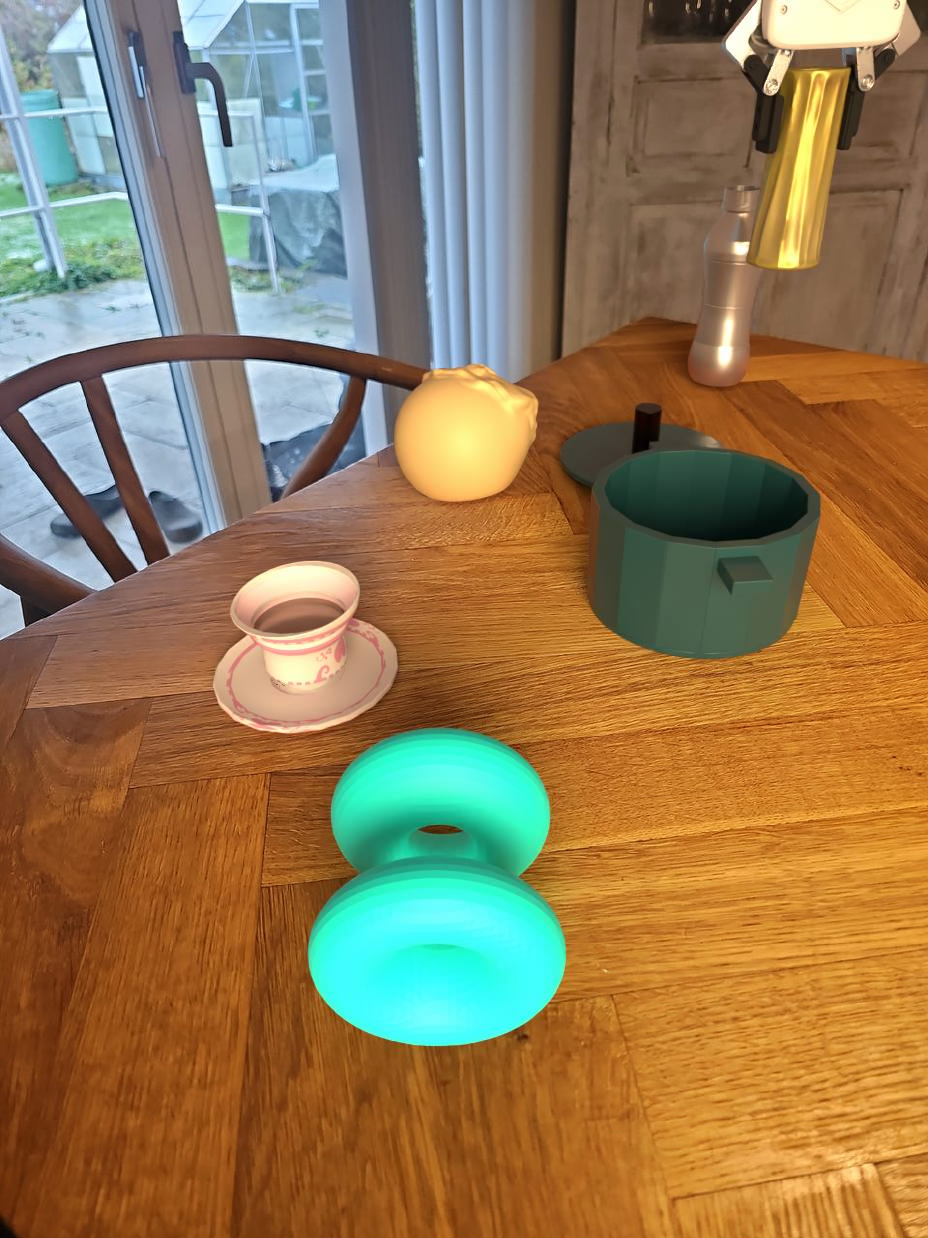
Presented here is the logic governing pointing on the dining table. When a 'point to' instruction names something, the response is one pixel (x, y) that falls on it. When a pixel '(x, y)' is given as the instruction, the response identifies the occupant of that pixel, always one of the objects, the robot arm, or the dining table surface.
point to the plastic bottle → (726, 294)
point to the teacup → (303, 652)
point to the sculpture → (464, 433)
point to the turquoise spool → (438, 893)
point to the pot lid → (623, 442)
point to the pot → (699, 549)
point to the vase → (799, 170)
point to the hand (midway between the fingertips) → (801, 147)
